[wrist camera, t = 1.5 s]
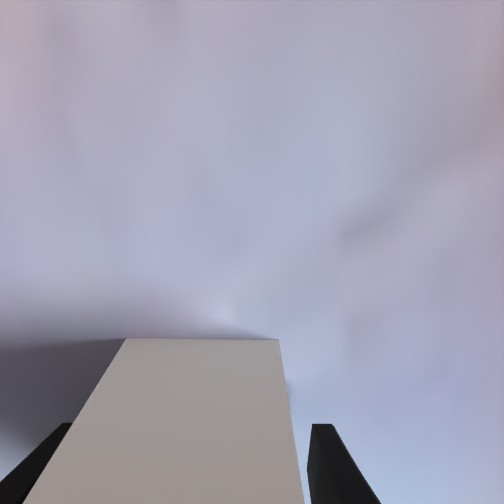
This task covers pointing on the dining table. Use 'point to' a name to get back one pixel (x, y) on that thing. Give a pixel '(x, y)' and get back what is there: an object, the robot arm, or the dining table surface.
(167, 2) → the dining table surface
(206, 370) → the block
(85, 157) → the dining table surface
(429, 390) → the dining table surface
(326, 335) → the dining table surface
